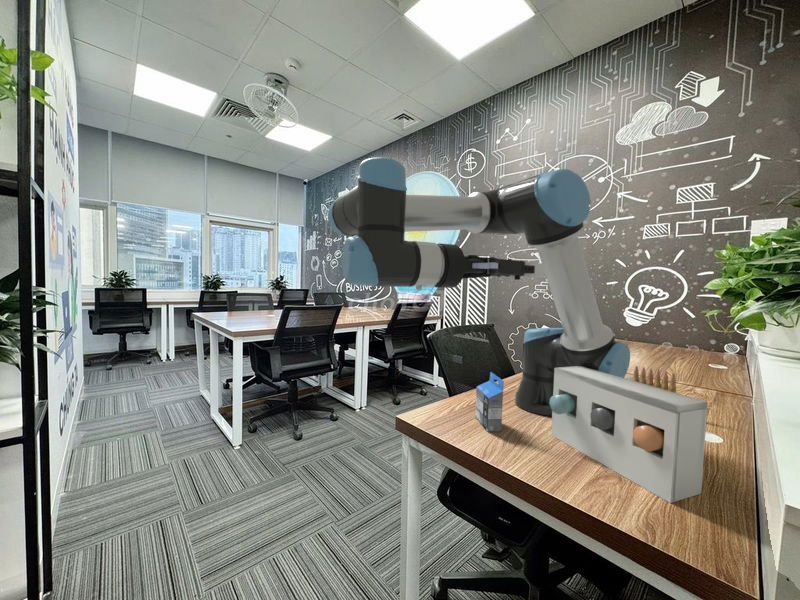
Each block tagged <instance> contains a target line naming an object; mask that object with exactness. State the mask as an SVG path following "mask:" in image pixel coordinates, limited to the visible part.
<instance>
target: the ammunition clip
mask: <svg viewBox="0 0 800 600" xmlns="http://www.w3.org/2000/svg"><path fill="white" fill-rule="evenodd" d="M646 373H647V372H646V368H645V367H642V368H641V371H640V375H639V368H638V366H637V365H635V366H634V370H633V375H632V377H633V380H632V381H636V382H639V383H643V384H646V385H650V386H654V387H657V388H661V389H664V390H668V391H671V392H675V393H677V378H676V374H675V372H672V373H671V375H670V379H669V375H668V372H667V371H666V370H665V371H664V373H663V376H662V382H661V373H660V369H658V370H656V372H655V376H654V373H653V369H652V368H649V370H648V373H647V374H646ZM646 375H647V377H646ZM639 377H640V381H639ZM646 380H647V383H646Z"/></svg>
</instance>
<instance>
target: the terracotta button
mask: <svg viewBox="0 0 800 600" xmlns="http://www.w3.org/2000/svg"><path fill="white" fill-rule="evenodd" d="M664 432H665V430H663V429H661V428H658V427H656V426H653V425H651V424H649V425H644V426H638V427H636V428H635V429H634V431H633V438H634V441H635V442H636V444H637V445H638V446H639V447H640V448H642V449H643V450H645V451H654V450H658V449H663V447H664Z"/></svg>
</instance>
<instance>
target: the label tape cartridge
mask: <svg viewBox="0 0 800 600" xmlns="http://www.w3.org/2000/svg"><path fill="white" fill-rule="evenodd" d="M504 383H505V380H503V379H501V377H499V376H497V374H495V373H493V372H492V371H490V373H489V380H488V381H486V382H483V383H481V384H479V385H477V386H476V389H475V390H476V391H475V392H476V393H475V394H476V395H475V414H474V415H475V416H474V417H475V418H476V420H477V421H478V422H479V423H480V425H481V426H482V427H483V428H484V429H485V430H486V432H488V433H499V432H502V422H503V419H502V418H503V399H504V398H503V397H504Z"/></svg>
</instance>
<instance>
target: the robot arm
mask: <svg viewBox="0 0 800 600" xmlns="http://www.w3.org/2000/svg"><path fill="white" fill-rule="evenodd" d="M356 180H357V185H356V186H355V187H353V188H351V190H349V191H348V192H346V193H345V194H343V195H341V196H339V197H338V198H336V199H335V200H334V202H333V203H331V205H330V206H329V209H328V211H327V219H328V220H327V221H328V224H329V226H330V227H331V229H332V231H334V232H335V233H336V234H338V235H339V236H342V237H343V236H344V237H347V238H346V239H345V240H344V243H343V247H342V256H341V258H342V259H341V268H342V274H343V277H344V279H345V281H346V282H347V283H348V284H350V285H352V286H365V287H367V286H368V287H387V288H388V287H391V288H392V287H400V288H401V287H404V288H405V287H408V288H409V287H414V288H415V290H417V291H420V292H421V291H422V287H423V288H432V287H434V288H439V289H442V288H445V289H448V288H450V289H452V288H456V287H457V286H459V284H460V283H461V282H462V280H463V279H477V278H490V277H498V278H499V277H502V276H504V277H513V278H514V280H515V281H516V280H518V281H520V280H521V278H537V279H538V278H540V279H542V278H546V281H547V283H548V287H549V289H550V293H551V296H552V299H553V301H554V305H555V308H556V311H557V315H558V316H559V317H558V318H559V321H560V323H561V326H562V327H543V328H542V327H539V328H528V329H527V330H526V331H525V332H524V337H523V343H522V344H523V348H522V376H521V380H520V383H519V386H518V389H517V391H516V392H515V398H514V403H515V405H516V406H517V407H519V408H520V409H522V410H524V411H527V412H530V413H533V414H537V415H541V416H549V417H550V416H551V417H552V409H551V407H550V398H551V397H552V396H553V389H554V368H559V367H572V366H583V367H586V368H590V369H593V370H597V371H600V372H604V373H607V374H611V375H614V376H618V377H622V378H626V375H627V372H628V370H629V367H630V362H631V351H630V347H629V345H628V344H627V343H625V342H623V341H620V340H619V341H616V339H615V336H614V332H613V330H612V328H610V326H607V324H606V325H605V324H604V323H603V319H602V317H601V312H600V309H599V307H598V306H599V305H598V303H597V298H596V295H595V292H594V287H593V284H592V281H591V278H590V273H589V270H588V266H587V263H586V260H585V256H584V251H583V249H582V245H581V241H580V238H579V235H580V234H581V232H582V231H583V230H584V227H585V226H584V222H585V221H586V219H587V218H588V217H589V214H590V212H591V207H590V204H591V197H590V196H591V195H590V191H589V188H588V186H587V185H586V182H585V181H584V180H583V178H582V177H581V176H580V175H579V174H578V173H576V172H574V171H573V170H570V169H568V168H560V169H555V170H552V171H545V172H542V173H539V174H536V175H534V176H530V177H528V178H525V179H522V180H519V181H516V182H514V183H511V184H508V185H504V186H501V187H499V188H496V189H492V190H489V191H483V192H482V191H481V192H480V191H478V192H477V191H476V192H475V191H474V192H472V193H470V194H469V195H467V196H466V195H465V196H464V195H462V196H461V195H432V194H431V195H429V194H428V195H427V194H426V195H425V194H407V191H408V188H407V181H406V180H407V179H406V168H405V165H404V164H402V163H401V162H400V161H398V160H396V159H393V158H389V157H379V156H376V157H371V158H367V159H365V160H363V161H362V162H361V163H359V166H358V176H357V179H356ZM460 230H462V231H463V230H464V231H465V230H466V231H467V232H469V234H476V235H477V234H490V235H491V234H492V235H518V234H524V237H525V239H526V242H527V245H528V246H530V247H532V248H535V249H537V252H538V253H537V254H538V255H539V258H540V262H541V263H540V262H539V263H538V262H526V261H524V260H512V259H508V258H507V259H505V258H504V259H501V258H496V257H494V256H492V257H485V256H479V255H475V254H470V255H466V256H465V255H464V252H463V249H461V247H460V246H458V245H457V244H452V243H450V244H449V243H437V242H432V241H431V242H430V241H417V240H412V241H410V240H409V241H408V240H405V233H406V232H410V233H411V232H426V231H427V232H431V231H433V232H436V231H460Z"/></svg>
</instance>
